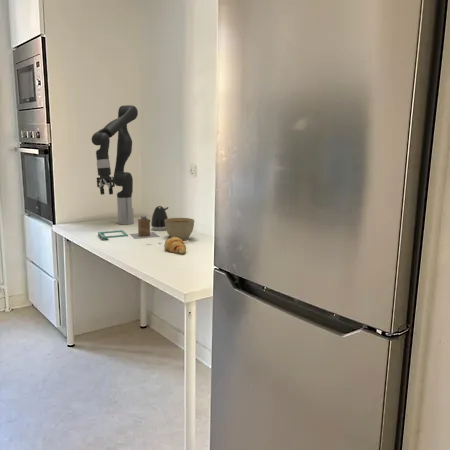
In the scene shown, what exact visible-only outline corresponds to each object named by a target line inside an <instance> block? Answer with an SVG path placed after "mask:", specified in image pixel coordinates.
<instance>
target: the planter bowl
mask: <svg viewBox="0 0 450 450" xmlns="http://www.w3.org/2000/svg"><path fill="white" fill-rule="evenodd" d="M165 227H166V230H165V231H166V232H167V234H168V236H169V237H170V238H172V237H178V238H180V239H182V240H183V242H184V241H186V240H188V239H189V237H190V236H191V235H192V233H193V230H194V228H195V219H194V218H189V217H170V218H168V219H165Z"/></svg>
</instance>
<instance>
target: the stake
mask: <svg viewBox="0 0 450 450" xmlns="http://www.w3.org/2000/svg"><path fill="white" fill-rule="evenodd" d="M146 218H147V215H141V216H140V219H141V220H146ZM129 235H130V236H131V237H132V238H133V239H134V240H138V239H139V240H141V239H149V238H150V239H151V238H161V237H160V236H159V235H158V234H157V233H156V232H155V231H150V236H142V237H141V236H139V233H135V232H134V233H128V236H129Z"/></svg>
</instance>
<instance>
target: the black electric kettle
mask: <svg viewBox="0 0 450 450" xmlns="http://www.w3.org/2000/svg"><path fill="white" fill-rule="evenodd" d="M168 209H169V207H168V206H166V207H163V206H161V205H158V206H156V207H155V209H154V210H153V212H152V216H151V221H150V227H152V229H153V231H158V232H163V231H166V227H165V219H169V218H168V214H167V210H168Z"/></svg>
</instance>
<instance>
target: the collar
mask: <svg viewBox="0 0 450 450" xmlns="http://www.w3.org/2000/svg"><path fill="white" fill-rule="evenodd" d="M137 229H138V230H137V231H138V233H139V236H141V237H142V236H150V232H151V219H149V218H147V217H146V220H141V218H138V219H137Z"/></svg>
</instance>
